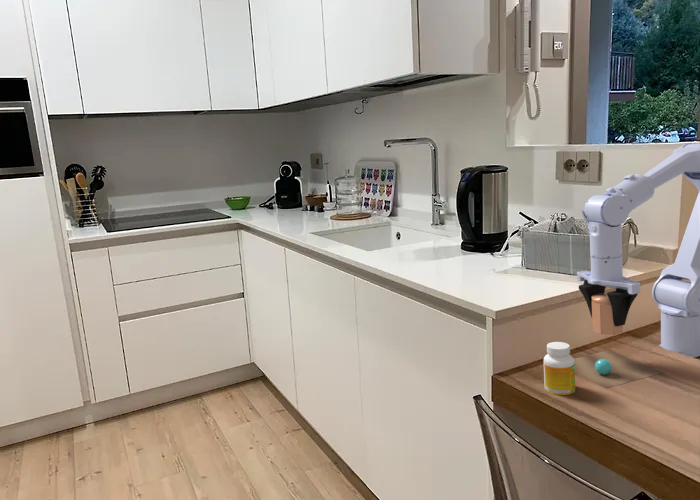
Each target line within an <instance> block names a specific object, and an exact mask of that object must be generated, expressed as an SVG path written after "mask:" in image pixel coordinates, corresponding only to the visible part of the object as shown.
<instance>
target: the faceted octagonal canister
mask: <svg viewBox="0 0 700 500" xmlns="http://www.w3.org/2000/svg"><path fill="white" fill-rule="evenodd" d="M607 293H608V292H604V293H599V294H594V295H592V317H591V321H592V322H591V325H592V332H594V333H597V334H599V335H611V336H612V335H618V334H622V333H624V325H621V326H615V325H614V322H613V313H612V307H611V303H610V300H609V298H608V296H607Z"/></svg>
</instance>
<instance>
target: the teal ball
mask: <svg viewBox="0 0 700 500" xmlns="http://www.w3.org/2000/svg"><path fill="white" fill-rule="evenodd" d="M595 369H596V371H597V372H598V373H599V374H602V375H606V374H609V373H610V372H611V370H612V365H611V363H610V362H609V361H608V360H606V359H600V360H598V361H597V362H596V363H595Z"/></svg>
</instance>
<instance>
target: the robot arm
mask: <svg viewBox="0 0 700 500" xmlns="http://www.w3.org/2000/svg"><path fill="white" fill-rule="evenodd" d="M680 175H683V176H684V177H685V178H686V179H687V180H688V182H690V183H691V184H692V185H693V186H695V187H696V190H697V191H698V194H697V197H696V199H695V202H694V205H693V208H692V212H691V214H690V218H689V220H688V223H687V226H686V229H685V231H684V235H683V238H682V241H681V243H680V247H679V248H678V252H677V254H676V257H675V261H674V263H672V264H670V265H667V266H666V267H665V268H663V269H662V270H661V273H660V276H659V277H658V279H656V281H655V282H654V284H653V285H652V290H651V296H652V300H653V301H654V302H655V303H656V304H658V305H657V309H659V310H660V344H658V346H659V347H661V348H662V349H665V350H667V351H669V352H673V353H679V354H681V355H684V356H685V355H686V356H688V357H690V358H693V359H694V358H699V357H700V142H696V143H692V142H686V143H684V144H682V145H680V147H677V148H675V149H674V150H673V151H672V154H670V155H669V156H667V157H666V158H665V159H664V160H661V162H659V163H658V164H657V165H655V166H654V167H652V168H651V169H650V170H648V171H647V172H645V173H644V174H643V175H642V174H640V173H636V174H635V173H634V174H627V175H625V176H624V177H623V179H624V180H623V181H621V182H619V183H618V184H617V185H615V186H613V187H608V188H607V189H605V192H604V193H603V194H596V195H593V196H591V197H589V199H587V201H586V202H585V205H584V207H583V208H584V209H582V210H581V215H582V218H583V219H584V220H585V221H586V223H587V230H588V231H589V249H590V251H589V254H590V255H589V257H590V271H589V270H581V271H579V270H578V271H577V272H576V280H577V282H583V284H579V285H578V290H579V291H580V292H581V294H582V296H583V298H584V301H585V302H586V304H587V307H588V310H589V314H590V317H591V318H592V295H594V294H599V293H607V296H608V298H609V300H610V303H611V307H612V313H613V322H614V325H615V326H621V325H623V326H625V325H626V320H627V317H628V314H629V311H630V308H631V306H632V305H633V303H634V300H635V299H636V297H638V294H640V293H641V283H640V282H637V281H635V280H633V279H630V278H628V277H626V276H624V275H623V274H624V273H623V271H624V270H623V231H622V230H623V228H622V226H623V225H622V224H624V223H625V222H626V221H627V219H628V217H629V214H630V213H631V212H632V211H633V210H635V209H637V208H638V207H639V206H641V205H642V204H645V203H646V202H648V201H649V200H650V199H652V198H653V197H654V194H655V189H657V188H658V187H660V186H663V185H664V184H666V183H668V182H670V181H671V180H673V179H675V178H676V177H679V176H680ZM686 280H687V281H686ZM689 281H690V282H689ZM606 288H610V289H613V290H612V291H608V292H605V290H606Z"/></svg>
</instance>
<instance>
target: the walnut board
mask: <svg viewBox="0 0 700 500" xmlns="http://www.w3.org/2000/svg"><path fill="white" fill-rule="evenodd" d="M573 358H574V357H573ZM600 359H606V360H608V361H609V362H610V363H611V365H612V370H611V372H610V373H609V374H606V375H602V374H599V373H598V372H597V371H596V369H595V363H596V362H597V361H598V360H600ZM574 363H575V375H579V376H580V377H582V378H584V379H586V380H587V381H588V380H589V381H590V382H593V383H595V384H597V385H599V386H600V387H603V388H604V389H609V388H613V387H617V386H620V385H624V384H627V383H631V382H635V381H638V380H642V379H646V378H650V377H653V376H657V375H661V374H665V373H666V371H664V370H661V369H658V368H656V367H654V366H651V365H649V364H646V363H643V362H641V361H638V360H636V359H634V358H631V357H628V356H626V355H624V354H621V353H618V352H616V351H614V350H611V349H608V350H604V351H599V352H595V353H590V354H587V355H583V356H579V357H576V358H574Z"/></svg>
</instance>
